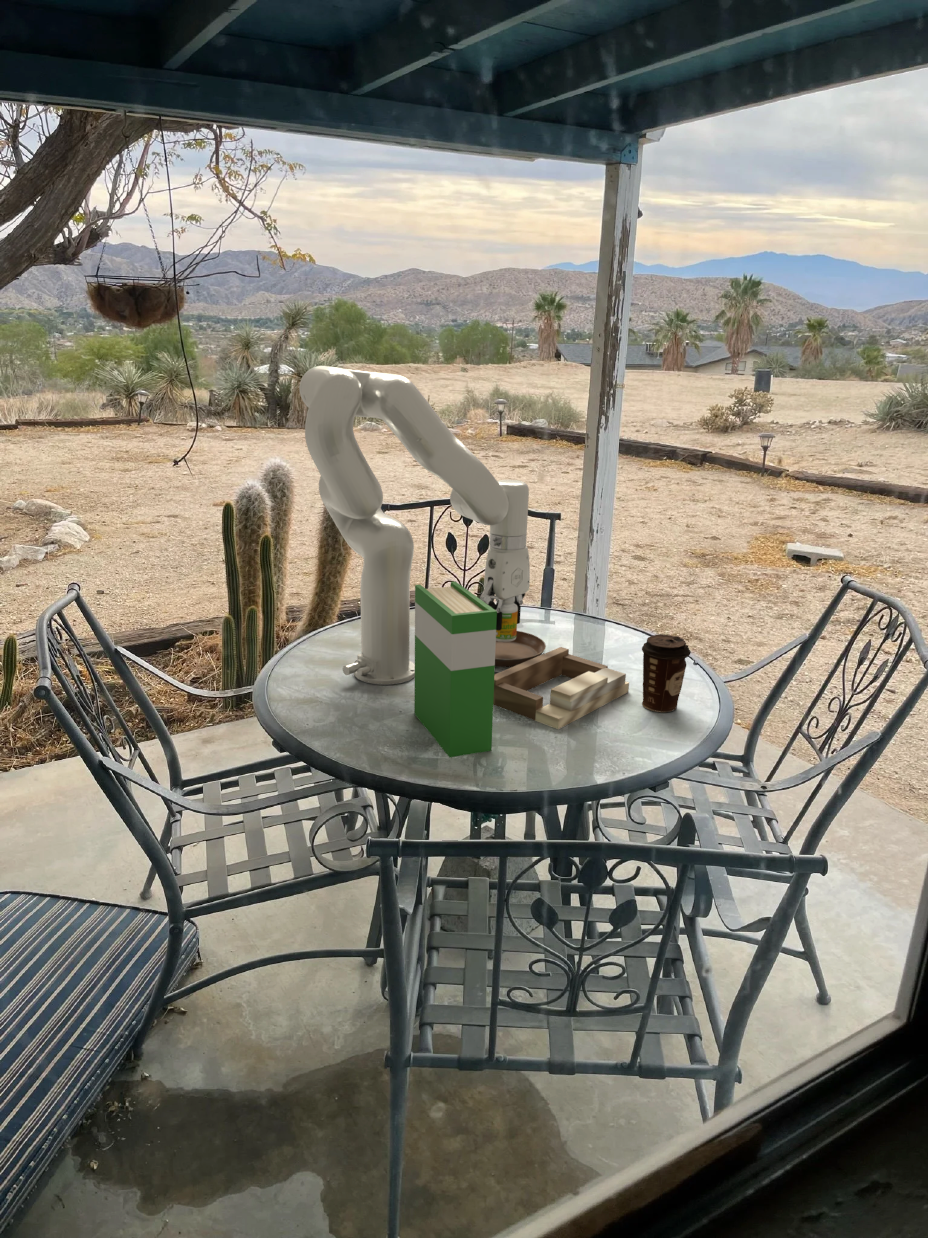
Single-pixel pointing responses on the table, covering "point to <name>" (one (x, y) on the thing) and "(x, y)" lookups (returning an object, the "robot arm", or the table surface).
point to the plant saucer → (518, 650)
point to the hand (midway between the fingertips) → (504, 624)
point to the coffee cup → (663, 671)
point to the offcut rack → (558, 687)
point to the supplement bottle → (508, 621)
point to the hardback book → (455, 668)
